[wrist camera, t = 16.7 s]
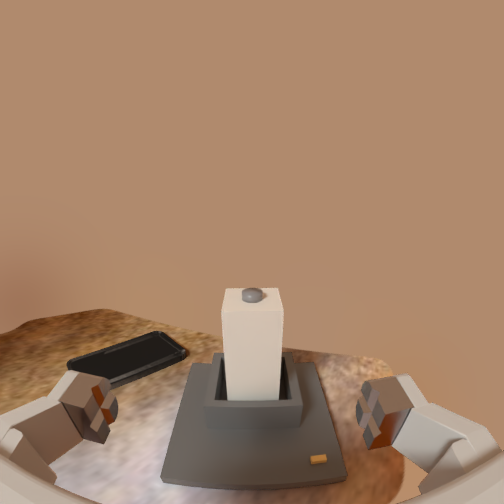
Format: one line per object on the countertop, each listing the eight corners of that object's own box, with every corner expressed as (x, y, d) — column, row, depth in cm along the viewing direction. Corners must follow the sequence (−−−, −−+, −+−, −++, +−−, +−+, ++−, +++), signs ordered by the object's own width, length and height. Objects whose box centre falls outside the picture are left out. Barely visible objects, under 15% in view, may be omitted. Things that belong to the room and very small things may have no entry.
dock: (163, 482, 15) (150, 457, 14) (193, 369, 31) (189, 341, 30) (344, 480, 15) (357, 455, 14) (312, 368, 31) (316, 340, 30)
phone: (189, 352, 33) (79, 395, 23) (190, 359, 33) (82, 402, 23) (158, 329, 38) (64, 360, 28) (160, 335, 39) (67, 367, 28)
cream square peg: (229, 415, 22) (220, 303, 20) (231, 385, 27) (226, 281, 24) (277, 415, 22) (283, 303, 20) (274, 385, 27) (278, 281, 24)
